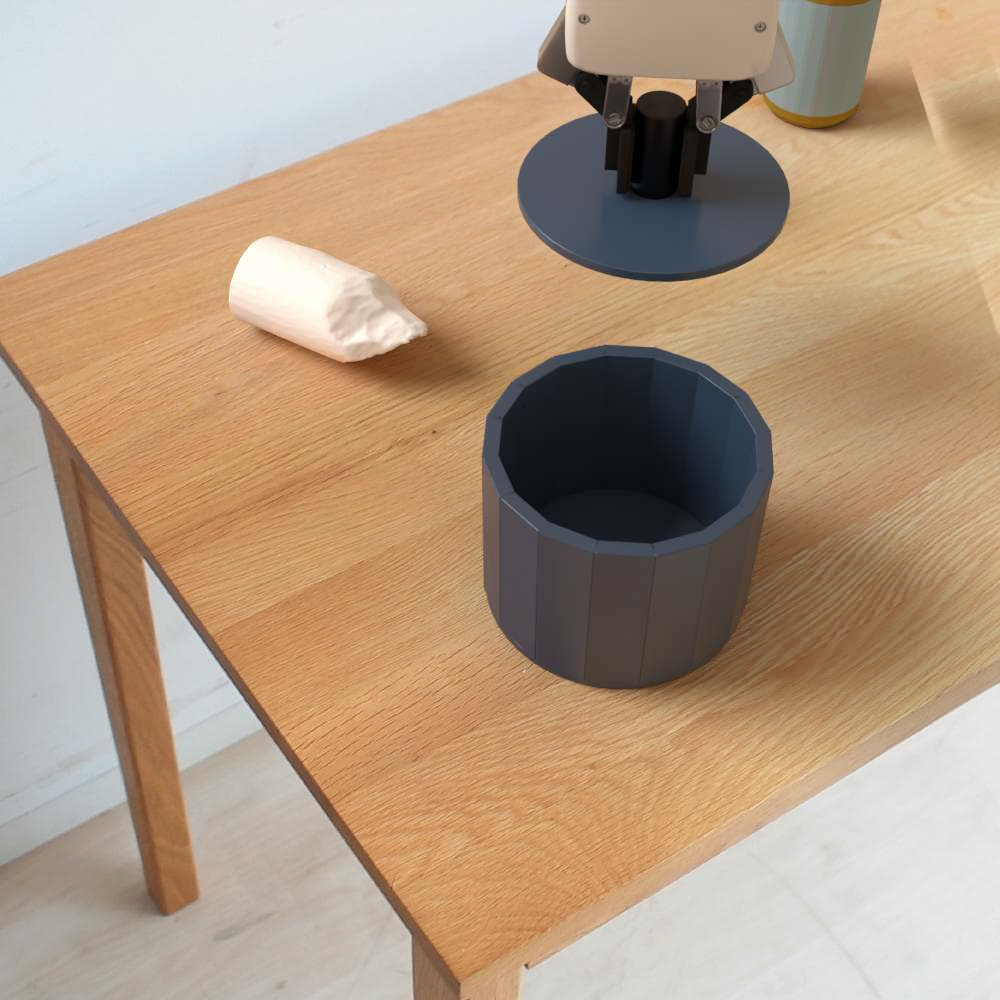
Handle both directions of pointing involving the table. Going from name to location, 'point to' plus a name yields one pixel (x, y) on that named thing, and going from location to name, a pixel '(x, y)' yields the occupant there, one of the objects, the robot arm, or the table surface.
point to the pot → (622, 513)
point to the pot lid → (653, 198)
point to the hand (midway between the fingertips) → (653, 177)
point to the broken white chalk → (319, 301)
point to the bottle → (824, 59)
